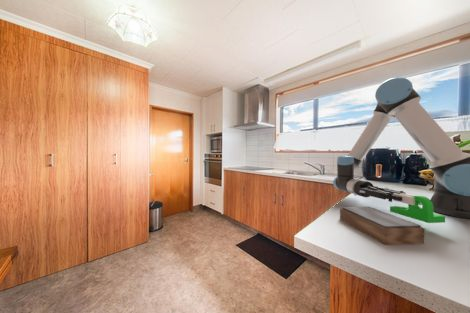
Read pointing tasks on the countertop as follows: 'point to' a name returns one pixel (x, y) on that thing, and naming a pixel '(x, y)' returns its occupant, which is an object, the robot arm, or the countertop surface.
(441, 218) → the mechanical part
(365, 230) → the stand
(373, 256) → the countertop surface
